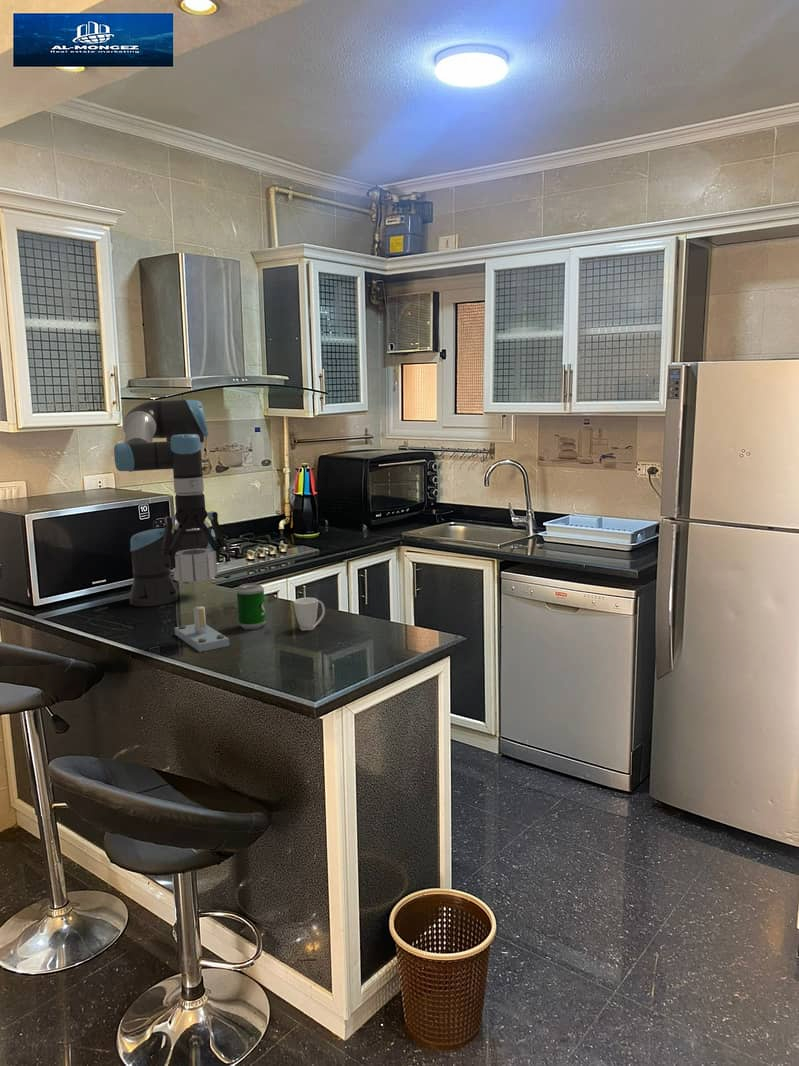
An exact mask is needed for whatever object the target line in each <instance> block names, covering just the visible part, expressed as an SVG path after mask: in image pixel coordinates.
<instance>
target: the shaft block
mask: <svg viewBox="0 0 799 1066" xmlns="http://www.w3.org/2000/svg"><path fill="white" fill-rule="evenodd" d="M205 608H206V607H205V606H195V607H193V608H192V610H193V622H194V623H192V624H187V625H186V624H182V625H178V626H177V627H174V635H175V636H177V637H178V638H179V639H181V640H182V641H184V642H185V643H187V644H188V645H189V646H191V647H192V648H193V649H195V650H196V651H197V652H199V653H202V651H203V652H207V651H212V650H217V649H221V648H226V647H230V639H229V638H228V636H226V635H224V634H222V633H221V632H219V631H217V630H215V629H214V628H213V627H210V626H209V625H208V624H207V619H206V609H205Z"/></svg>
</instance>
